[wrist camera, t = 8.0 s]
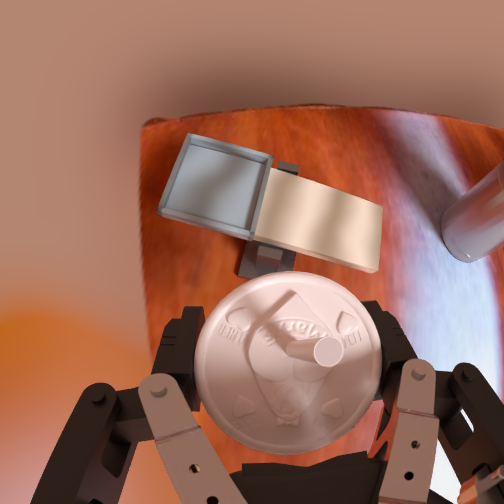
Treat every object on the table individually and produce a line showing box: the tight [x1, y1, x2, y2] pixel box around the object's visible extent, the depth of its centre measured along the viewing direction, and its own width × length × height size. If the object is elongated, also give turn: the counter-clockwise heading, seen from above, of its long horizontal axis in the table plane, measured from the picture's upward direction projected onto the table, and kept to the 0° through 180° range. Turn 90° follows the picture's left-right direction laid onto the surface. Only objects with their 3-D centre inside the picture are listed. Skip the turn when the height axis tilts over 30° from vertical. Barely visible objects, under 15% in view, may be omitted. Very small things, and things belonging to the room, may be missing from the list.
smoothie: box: [194, 271, 382, 455], centre depth 12 cm, size 6×6×14 cm
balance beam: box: [157, 133, 383, 273], centre depth 31 cm, size 24×10×3 cm, turn 77°
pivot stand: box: [238, 161, 299, 280], centre depth 34 cm, size 6×14×6 cm, turn 167°
